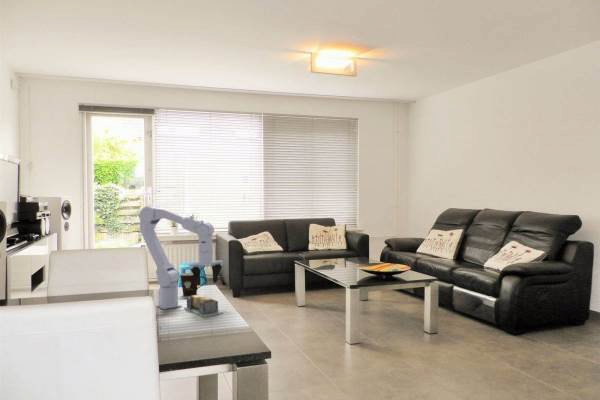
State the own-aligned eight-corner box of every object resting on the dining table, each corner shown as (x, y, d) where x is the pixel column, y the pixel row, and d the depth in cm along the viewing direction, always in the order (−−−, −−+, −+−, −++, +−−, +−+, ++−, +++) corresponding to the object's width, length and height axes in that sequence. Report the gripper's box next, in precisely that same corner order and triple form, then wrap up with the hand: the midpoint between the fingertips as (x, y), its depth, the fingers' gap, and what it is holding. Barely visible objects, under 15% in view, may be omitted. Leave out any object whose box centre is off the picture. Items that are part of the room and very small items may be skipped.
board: (184, 308, 195) (184, 307, 195) (203, 305, 199) (203, 304, 199) (203, 317, 179) (203, 315, 179) (223, 313, 184) (223, 312, 184)
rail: (191, 305, 194) (191, 295, 194) (199, 304, 196) (199, 294, 196) (205, 311, 182) (205, 300, 182) (213, 309, 184) (213, 299, 184)
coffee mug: (176, 295, 224) (176, 274, 224) (189, 292, 231) (188, 272, 231) (195, 297, 218) (195, 276, 218) (207, 294, 226) (207, 273, 226)
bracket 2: (218, 312, 184) (217, 301, 184) (203, 314, 180) (203, 303, 181) (213, 310, 187) (213, 299, 187) (199, 312, 184) (199, 301, 184)
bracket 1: (186, 307, 194) (186, 297, 194) (200, 305, 198) (200, 295, 198) (190, 309, 191) (190, 298, 191) (204, 306, 194) (204, 296, 194)
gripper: (193, 253, 189) (194, 287, 189) (225, 250, 198) (226, 282, 198) (186, 252, 195) (187, 284, 195) (218, 249, 204) (219, 280, 204)
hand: (206, 283), depth 197 cm, fingers open, 7 cm apart
